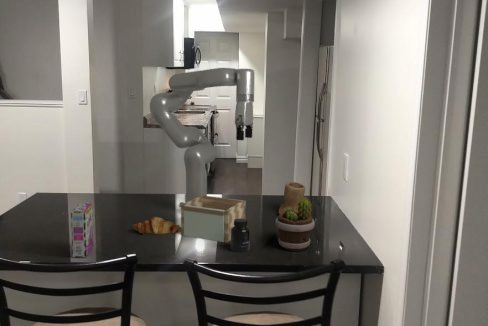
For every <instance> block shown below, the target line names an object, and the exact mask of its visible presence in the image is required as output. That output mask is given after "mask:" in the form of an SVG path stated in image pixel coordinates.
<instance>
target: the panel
mask: <svg viewBox="0 0 488 326" xmlns="http://www.w3.org/2000/svg"><path fill="white" fill-rule="evenodd" d="M183 236H184V237H190V238H196V239H201V240H208V241H214V242H221V243H224V242H225V241H224V239H225V210H219V209H212V208H204V207H197V206H189V205H184V235H183Z"/></svg>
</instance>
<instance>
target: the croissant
mask: <svg viewBox="0 0 488 326" xmlns="http://www.w3.org/2000/svg"><path fill="white" fill-rule="evenodd" d="M132 230H135V231H137V232H138V233H139V234H141V233H142V234H141V235H145V234H152V235H163V234H174V233H175V234H177V233H178V234H179V233H181V225H179V224H175V223H174V222H173V221H171V220H164V218H162V217H158V216H152V217H150V220H149V219H145V220H144V221H143V222H138V223H136V224H135V223H133V224H132Z"/></svg>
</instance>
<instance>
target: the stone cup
mask: <svg viewBox="0 0 488 326" xmlns="http://www.w3.org/2000/svg"><path fill="white" fill-rule="evenodd" d="M305 193H306V186H305V185H304V184H302V183H300V182H297V181H289V182H287V183H286V184H285V185H284V191H283V198H284V203H281V204H280V206H279V209H278V214H279V215H280V214H281V213H285V211H286V209H288V208H289V209H291V208H292V209H294V211H295V212H299V211H297V210H298V209H297V208H298V205H297V204H298V203H299V200H300V201H301V199H303V197H304V198H305V195H306V194H305ZM302 196H303V197H302ZM295 208H296V209H295Z"/></svg>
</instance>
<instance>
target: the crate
mask: <svg viewBox="0 0 488 326" xmlns="http://www.w3.org/2000/svg"><path fill="white" fill-rule="evenodd" d="M246 202H247V201H246V200H243V199H234V198H227V197H226V198H225V197H219V196H218V197H217V196H209V195H207V196H203V195H201V196H199V197H197V198H195V199H193V200H190V201H188V202H186V201H185V202H184V204H182V205H181V207H180V227H181V232H180V234H181V236H184V205H189V206H197V207H204V208H212V209H219V210H225V239H224V242H225V243H230V242H231V229H232V227H234V220H235V219H239V218H242V219H247V218H246V209H247V208H246V207H247V203H246Z"/></svg>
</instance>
